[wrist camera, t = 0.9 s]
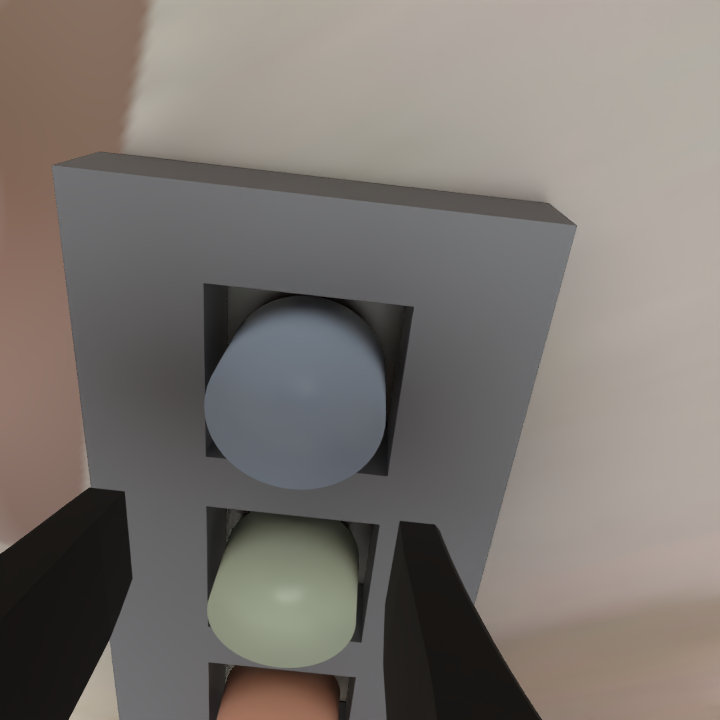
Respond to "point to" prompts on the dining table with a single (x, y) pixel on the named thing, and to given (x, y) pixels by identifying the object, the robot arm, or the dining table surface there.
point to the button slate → (299, 394)
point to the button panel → (209, 342)
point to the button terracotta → (279, 695)
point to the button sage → (286, 590)
